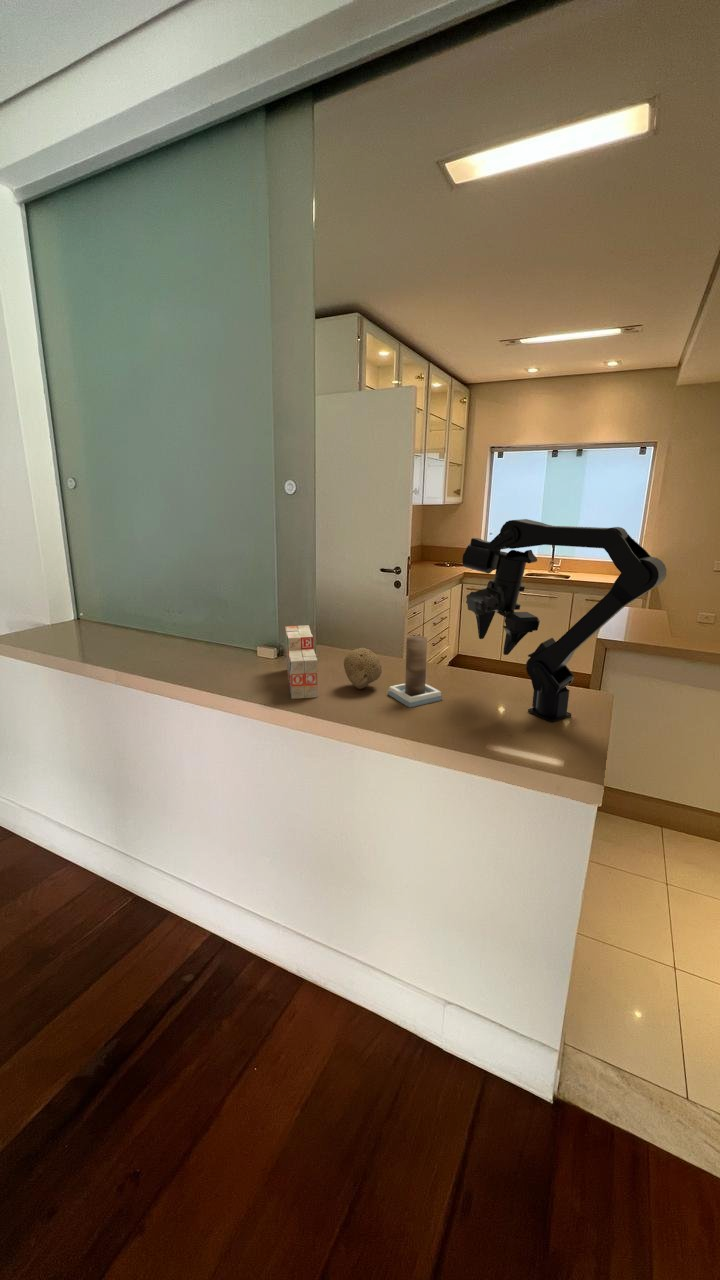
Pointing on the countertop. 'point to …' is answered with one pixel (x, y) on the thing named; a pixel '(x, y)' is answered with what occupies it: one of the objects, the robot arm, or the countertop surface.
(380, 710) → the countertop surface
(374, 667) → the natural sponge
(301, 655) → the stack of blocks
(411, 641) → the walnut column
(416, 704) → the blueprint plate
